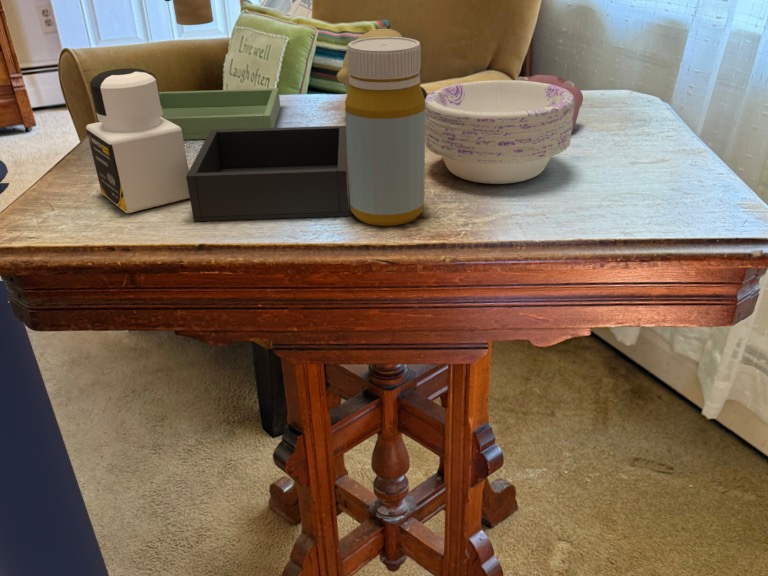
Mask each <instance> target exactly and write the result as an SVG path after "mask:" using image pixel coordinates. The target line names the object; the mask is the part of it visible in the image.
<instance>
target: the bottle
mask: <svg viewBox="0 0 768 576" xmlns="http://www.w3.org/2000/svg"><path fill="white" fill-rule="evenodd" d="M346 48H347V49H346V52H348V70H349V73H350V74H349V83H350V86H349V90H348V93H347V92H346V93H347V94H346V98H345V100H344V104H345V105H344V106H345V107H344V113H345V115H344V116H345V126H346V136H347V157H348V177H349V196H348V199H349V208H350V211H351V213H352V214H353V215H354V216H355V218H357V219H358V220H359V221H360V222H363V223H365V224H368V225H373V226H379V227H380V226H381V227H390V226H391V227H392V226H400V225H404V224H405V225H406V224H408V223H410V222H412V221H414V220H416V219H417V218H418V217H419V216H420V214H421V213H422V212H423V211H424V208H425V188H426V187H425V186H426V185H425V181H426V180H425V179H426V177H425V174H426V172H425V171H426V165H425V164H426V144H425V99H424V95H423V92H422V89H421V87H422V86H421V85H420V83H419V82H421V72H420V71H421V65H422V64H421V63H422V62H421V60H422V52H421V51H422V47H421V42H420V41H419V40H417V39H414V38H409V37H404V36H402V37H373V38H364V39H359V40H356V39H355V40H351V41H349V42H348V44H347V47H346Z"/></svg>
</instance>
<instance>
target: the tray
mask: <svg viewBox="0 0 768 576" xmlns="http://www.w3.org/2000/svg"><path fill="white" fill-rule="evenodd" d="M279 89H280V88H277V87H276V88H275V87H274V88H248V89H247V88H244V89H242V88H241V89H217V90H216V89H214V90H184V91H183V90H182V91H181V90H179V91H159V95H160V101H161V106H162V112H163V114H162V116H160V117H162V118H164V119H166V120H168V121H170V122H172V123H173V124H175V125H177V126H179V127H180V128H181V130H182V135H183V141H185V140H206V138H207V136H208V134H209V132H210V130H228V129H259V128H276V124H277V120H278V117H279V114H280V111H281V101H280V100H281V99H280V91H279Z"/></svg>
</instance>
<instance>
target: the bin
mask: <svg viewBox="0 0 768 576" xmlns="http://www.w3.org/2000/svg"><path fill="white" fill-rule="evenodd" d="M186 179H187V185H188V190H189V196H190V198H189V201H190V207H191V213H192V219H193V222H216V221H218V222H219V221H220V222H221V221H243V220H244V221H246V220H247V221H249V220H270V219H271V220H273V219H274V220H275V219H277V220H278V219H299V218H300V219H302V218H331V217H332V218H333V217H334V218H335V217H349V177H348V157H347V136H346V125H324V126H323V125H322V126H321V125H320V126H294V127H291V126H289V127H275V128H259V129H228V130H210V132H209V134H208V136H207V138H206V139H204V141H203V144H202V145H201V147H200V148H199V151H198V153H197V154H196V157H195V159H194V161H193V162H192V164H191V166H190V168H189V172H188V174H187V175H186Z"/></svg>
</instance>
